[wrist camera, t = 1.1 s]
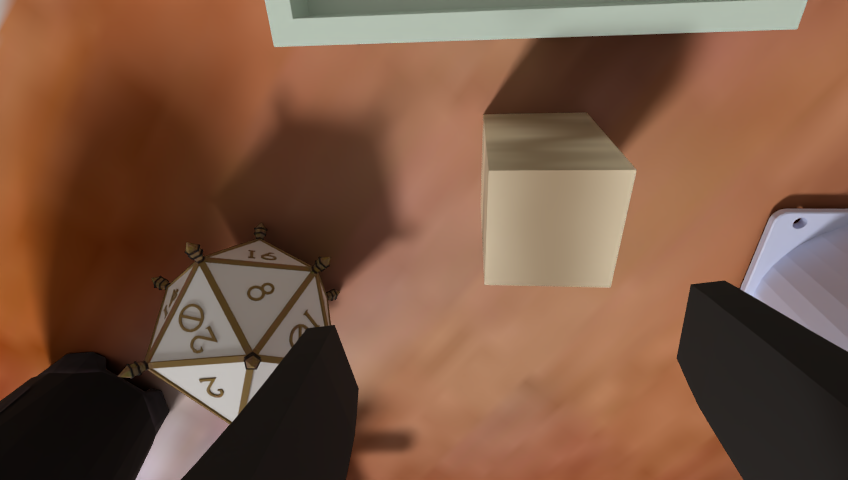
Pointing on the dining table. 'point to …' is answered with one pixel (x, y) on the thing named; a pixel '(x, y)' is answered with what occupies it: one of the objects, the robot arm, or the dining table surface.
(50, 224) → the dining table surface
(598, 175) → the maple block
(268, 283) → the game die
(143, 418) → the portable speaker
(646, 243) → the dining table surface
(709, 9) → the sorting tray
